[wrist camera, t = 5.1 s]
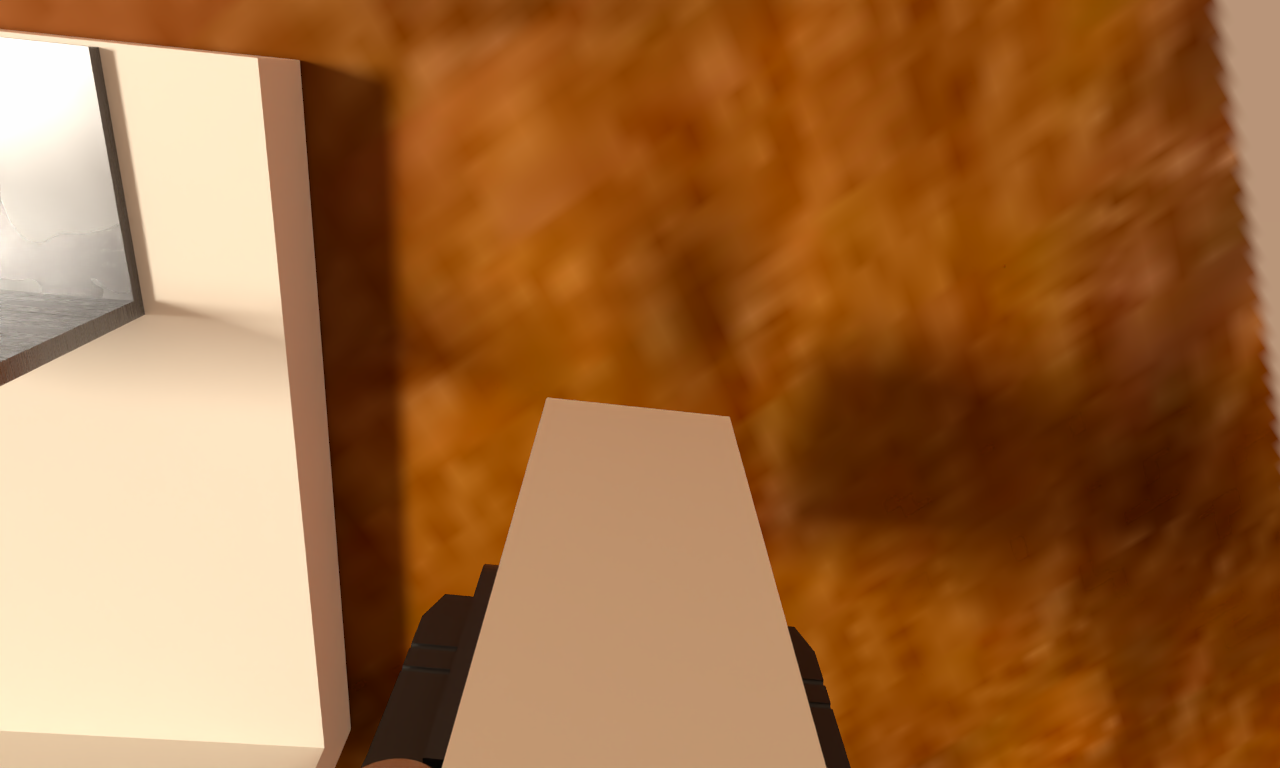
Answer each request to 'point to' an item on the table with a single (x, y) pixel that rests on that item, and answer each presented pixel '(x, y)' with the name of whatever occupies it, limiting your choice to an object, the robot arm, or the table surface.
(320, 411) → the shelf
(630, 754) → the small book
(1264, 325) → the table surface
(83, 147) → the bookend
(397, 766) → the robot arm
